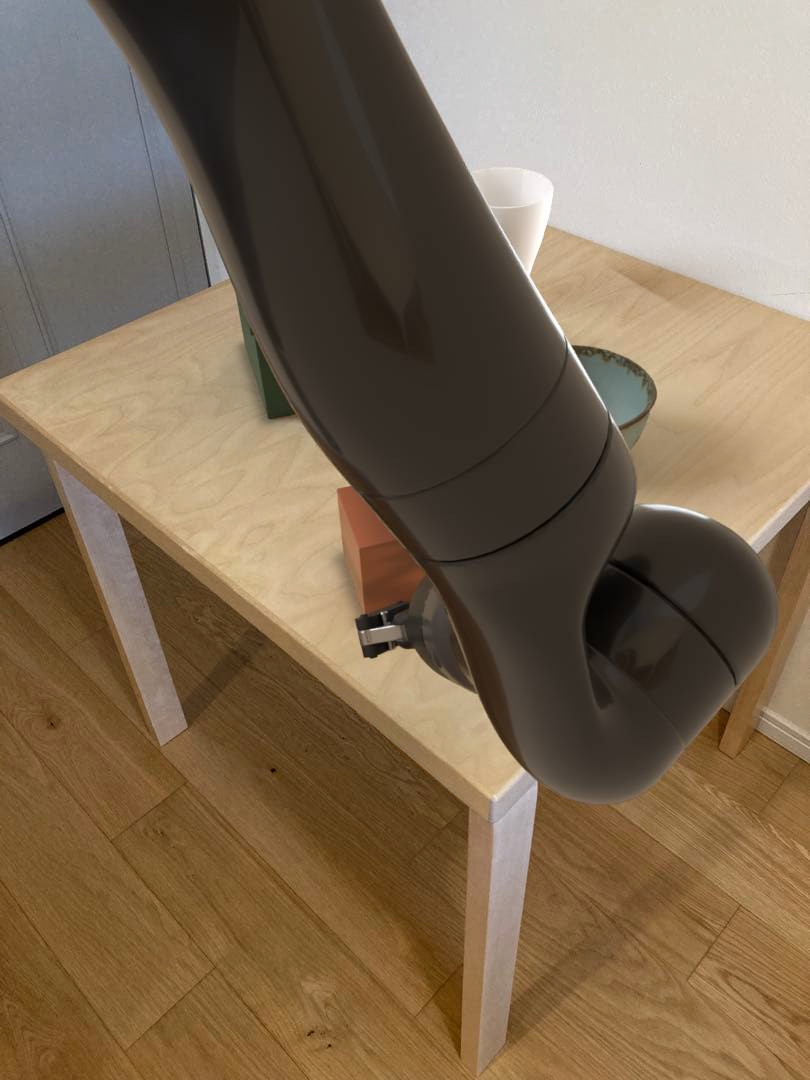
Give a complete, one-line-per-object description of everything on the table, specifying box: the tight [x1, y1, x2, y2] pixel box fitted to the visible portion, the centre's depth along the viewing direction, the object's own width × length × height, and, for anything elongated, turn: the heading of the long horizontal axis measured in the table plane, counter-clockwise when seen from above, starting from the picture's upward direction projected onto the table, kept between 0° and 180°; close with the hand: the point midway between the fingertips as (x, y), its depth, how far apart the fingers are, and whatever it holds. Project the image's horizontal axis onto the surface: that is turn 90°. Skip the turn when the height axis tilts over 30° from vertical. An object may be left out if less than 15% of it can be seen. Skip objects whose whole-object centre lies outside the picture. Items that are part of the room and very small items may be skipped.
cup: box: [470, 166, 554, 277], centre depth 100 cm, size 10×10×14 cm
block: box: [336, 485, 425, 614], centre depth 71 cm, size 7×7×8 cm
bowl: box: [570, 344, 658, 451], centre depth 81 cm, size 14×13×8 cm
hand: (426, 608), depth 64 cm, fingers closed
